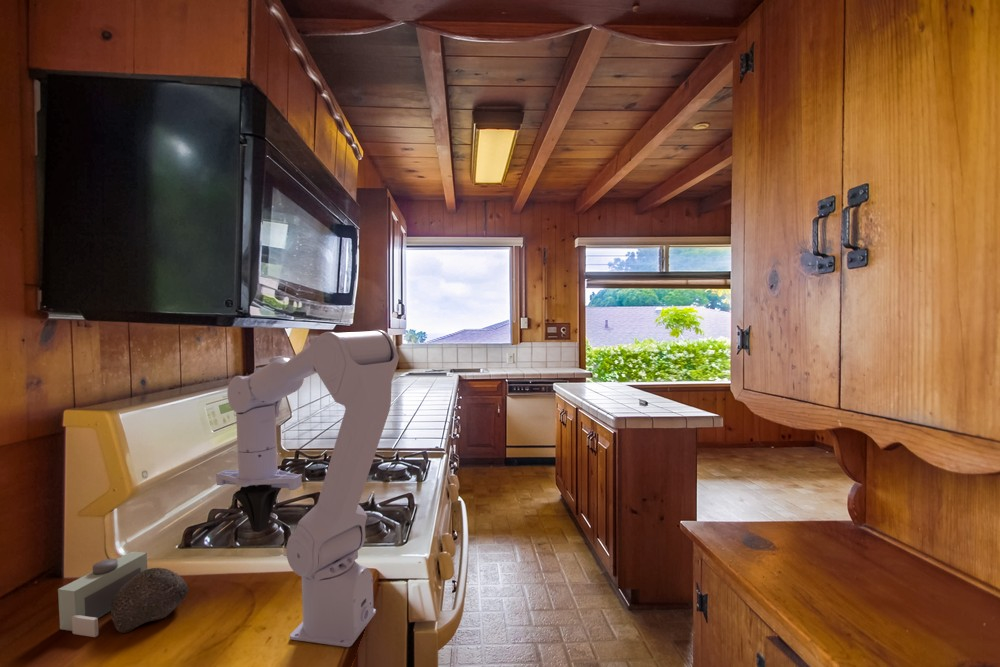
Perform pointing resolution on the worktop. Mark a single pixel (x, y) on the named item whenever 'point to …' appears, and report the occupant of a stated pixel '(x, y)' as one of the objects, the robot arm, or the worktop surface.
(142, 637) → the worktop surface
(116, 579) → the digital alarm clock
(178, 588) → the stone
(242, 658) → the worktop surface
